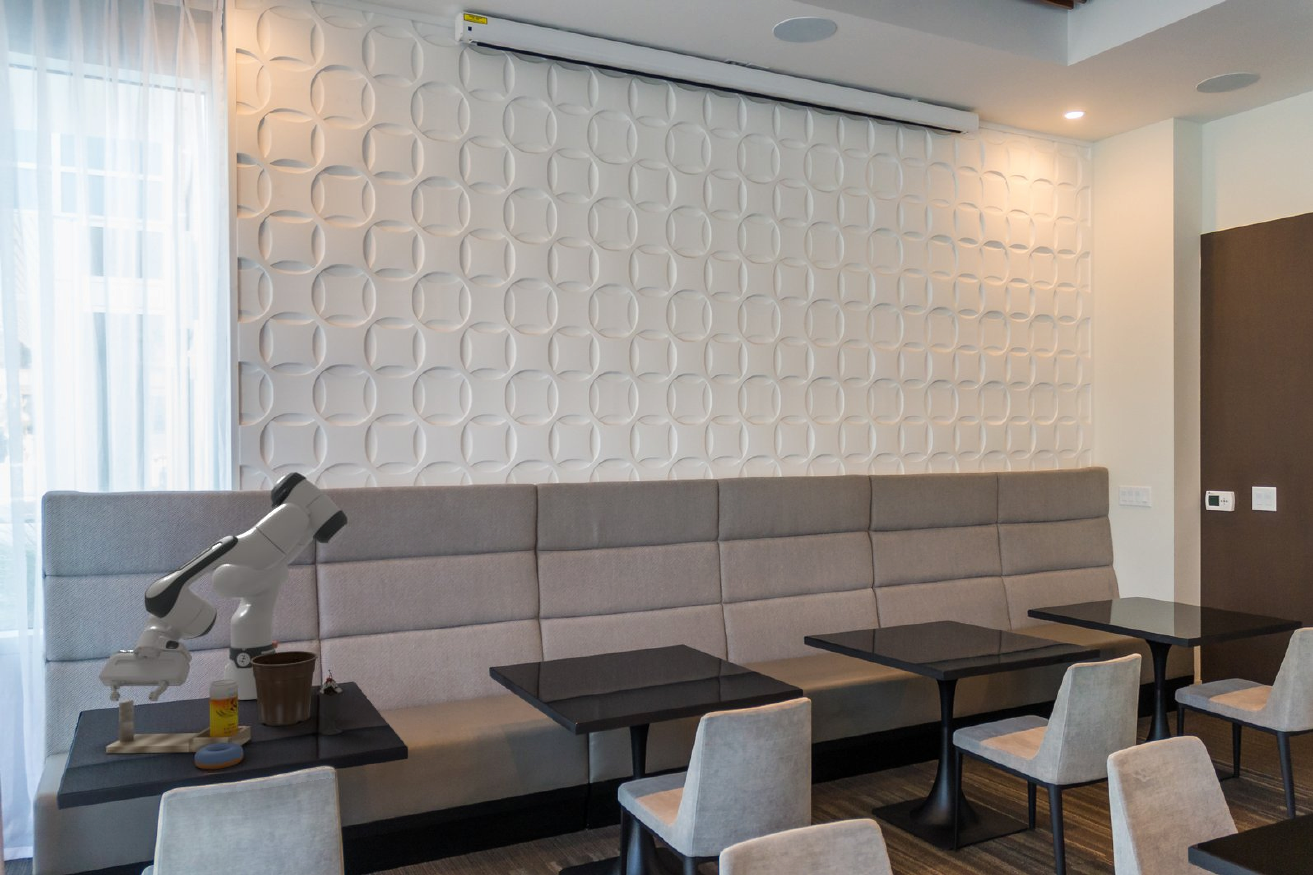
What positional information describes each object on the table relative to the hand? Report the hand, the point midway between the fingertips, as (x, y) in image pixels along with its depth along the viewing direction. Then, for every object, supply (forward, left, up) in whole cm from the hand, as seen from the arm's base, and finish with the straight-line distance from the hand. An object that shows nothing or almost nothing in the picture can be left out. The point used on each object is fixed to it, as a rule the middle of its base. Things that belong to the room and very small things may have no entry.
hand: (132, 700), depth 236 cm
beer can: (+5, +24, -10) cm, 27 cm away
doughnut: (+18, +29, -10) cm, 36 cm away
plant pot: (-17, +30, -10) cm, 36 cm away
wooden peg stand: (+5, +14, -10) cm, 17 cm away
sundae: (-5, +46, -10) cm, 47 cm away
